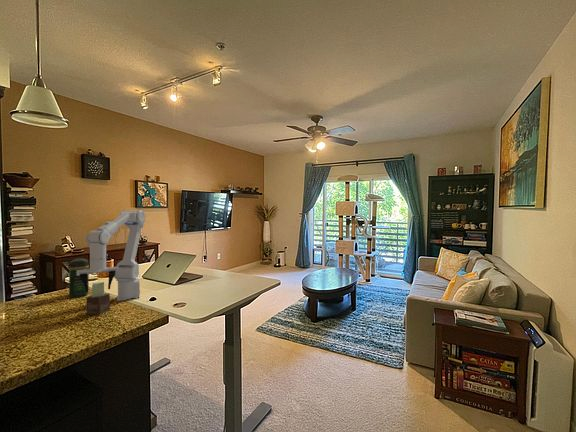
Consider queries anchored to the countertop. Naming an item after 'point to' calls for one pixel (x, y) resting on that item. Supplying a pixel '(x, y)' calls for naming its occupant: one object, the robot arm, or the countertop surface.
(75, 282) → the coffee jar
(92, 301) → the box
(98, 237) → the robot arm
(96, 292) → the sage block
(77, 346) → the countertop surface
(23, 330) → the countertop surface
